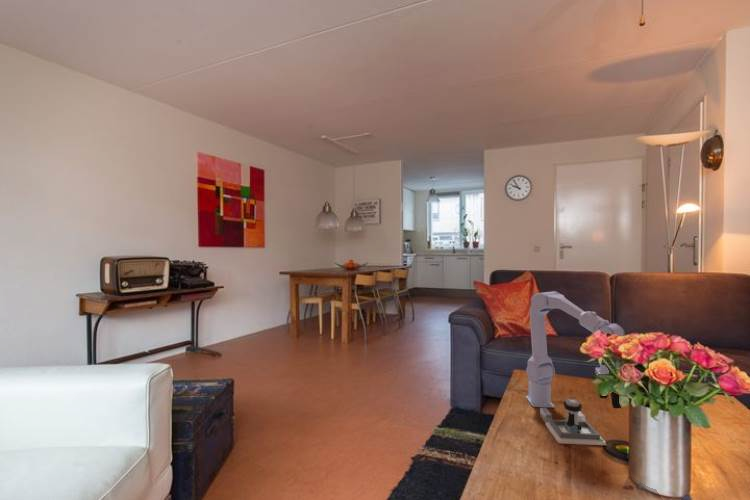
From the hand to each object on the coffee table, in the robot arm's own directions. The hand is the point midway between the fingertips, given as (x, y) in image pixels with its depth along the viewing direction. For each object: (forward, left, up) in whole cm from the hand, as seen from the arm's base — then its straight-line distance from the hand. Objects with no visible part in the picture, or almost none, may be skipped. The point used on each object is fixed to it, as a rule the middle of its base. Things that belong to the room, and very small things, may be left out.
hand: (609, 402), depth 125 cm
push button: (+2, -12, -10) cm, 15 cm away
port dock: (+2, -12, -10) cm, 16 cm away
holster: (-8, -12, -10) cm, 18 cm away
